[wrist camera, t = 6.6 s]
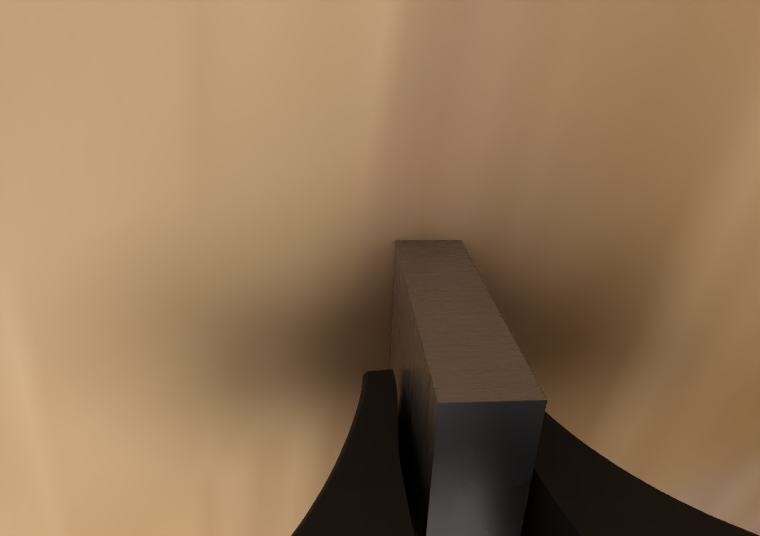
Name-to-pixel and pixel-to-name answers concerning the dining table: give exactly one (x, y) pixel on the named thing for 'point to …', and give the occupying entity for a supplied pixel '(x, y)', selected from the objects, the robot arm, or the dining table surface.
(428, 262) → the steel block
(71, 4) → the dining table surface
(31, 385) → the dining table surface
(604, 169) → the dining table surface
